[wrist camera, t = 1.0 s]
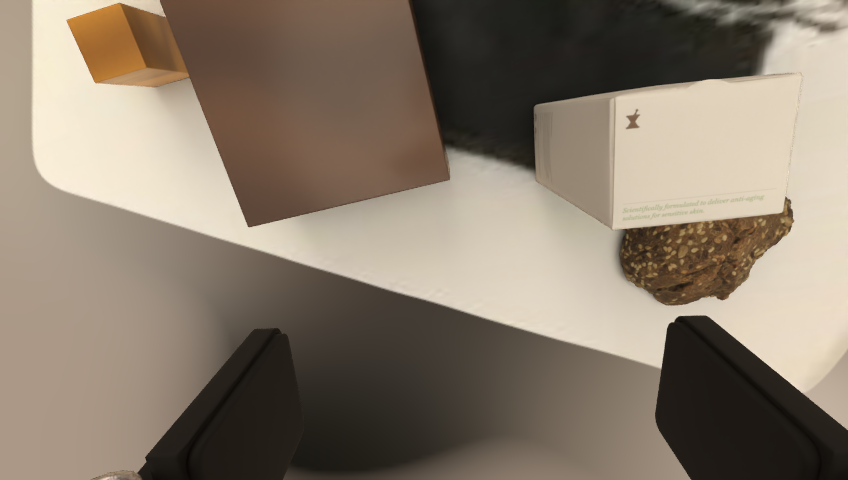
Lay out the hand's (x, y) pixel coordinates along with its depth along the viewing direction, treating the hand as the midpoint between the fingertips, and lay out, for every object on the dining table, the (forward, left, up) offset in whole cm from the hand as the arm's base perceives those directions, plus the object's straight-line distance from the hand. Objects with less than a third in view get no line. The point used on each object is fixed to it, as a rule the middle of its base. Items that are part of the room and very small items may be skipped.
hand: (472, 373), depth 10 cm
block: (-10, -23, -26) cm, 36 cm away
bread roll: (+4, +20, -26) cm, 33 cm away
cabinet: (-9, -10, -26) cm, 29 cm away
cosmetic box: (-4, +10, -26) cm, 28 cm away
